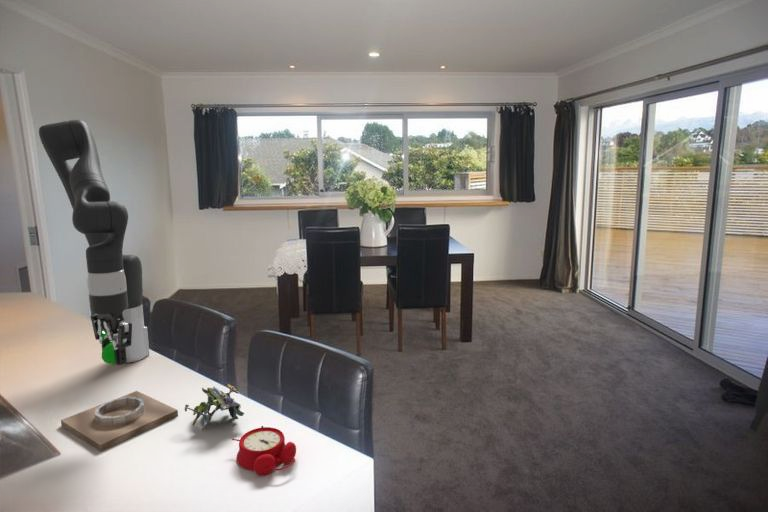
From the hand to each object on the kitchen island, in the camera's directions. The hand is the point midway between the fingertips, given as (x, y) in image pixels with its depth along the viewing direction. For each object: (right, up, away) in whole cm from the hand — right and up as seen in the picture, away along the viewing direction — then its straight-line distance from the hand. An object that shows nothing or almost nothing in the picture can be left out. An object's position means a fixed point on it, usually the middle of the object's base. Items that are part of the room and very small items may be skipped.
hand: (114, 360), depth 109 cm
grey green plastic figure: (+23, -16, +2) cm, 28 cm away
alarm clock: (+38, -18, -12) cm, 44 cm away
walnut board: (0, -15, +3) cm, 15 cm away
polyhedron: (0, -1, 0) cm, 1 cm away
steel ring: (0, -13, +2) cm, 14 cm away
